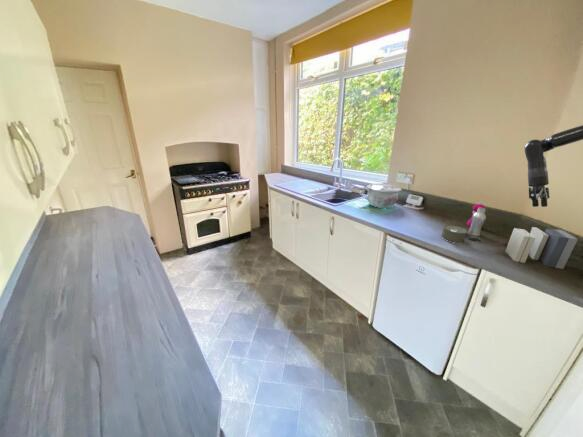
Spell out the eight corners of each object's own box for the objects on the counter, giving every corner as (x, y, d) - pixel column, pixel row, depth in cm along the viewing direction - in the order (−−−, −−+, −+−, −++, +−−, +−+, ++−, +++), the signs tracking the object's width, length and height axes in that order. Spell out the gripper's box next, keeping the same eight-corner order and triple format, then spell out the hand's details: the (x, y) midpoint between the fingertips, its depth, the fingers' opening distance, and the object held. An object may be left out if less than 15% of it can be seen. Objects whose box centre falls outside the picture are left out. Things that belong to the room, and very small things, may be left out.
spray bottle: (474, 233, 150) (483, 204, 143) (462, 229, 156) (471, 201, 149) (480, 232, 153) (490, 202, 146) (469, 228, 159) (478, 199, 152)
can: (466, 239, 142) (469, 229, 140) (461, 245, 134) (464, 234, 132) (443, 233, 150) (446, 223, 148) (438, 238, 142) (440, 228, 140)
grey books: (549, 258, 122) (562, 230, 117) (563, 269, 113) (578, 239, 107) (534, 255, 124) (546, 228, 119) (546, 266, 115) (559, 236, 109)
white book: (527, 250, 130) (536, 227, 125) (538, 260, 120) (549, 235, 115) (522, 250, 131) (531, 226, 126) (533, 259, 121) (543, 234, 116)
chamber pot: (402, 206, 203) (407, 182, 195) (390, 214, 184) (394, 188, 176) (372, 199, 221) (375, 177, 213) (357, 206, 202) (360, 182, 194)
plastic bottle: (464, 239, 142) (474, 208, 135) (466, 236, 147) (475, 205, 139) (477, 243, 138) (488, 211, 131) (479, 239, 142) (489, 208, 135)
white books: (514, 253, 127) (524, 229, 122) (524, 262, 118) (535, 237, 113) (505, 251, 129) (513, 228, 124) (514, 261, 119) (524, 236, 114)
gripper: (539, 174, 121) (542, 205, 121) (554, 176, 126) (556, 205, 126) (521, 177, 128) (523, 207, 128) (535, 178, 133) (538, 207, 133)
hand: (540, 206), depth 127 cm, fingers open, 8 cm apart
